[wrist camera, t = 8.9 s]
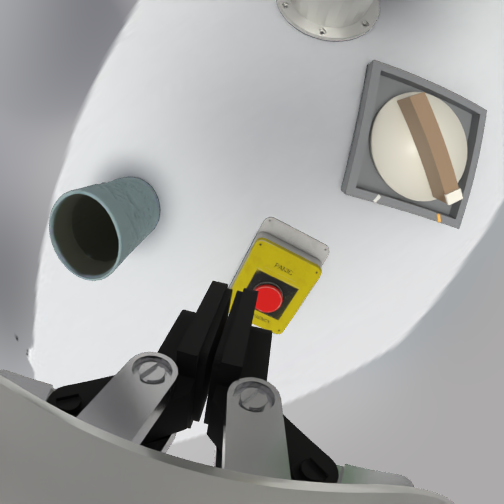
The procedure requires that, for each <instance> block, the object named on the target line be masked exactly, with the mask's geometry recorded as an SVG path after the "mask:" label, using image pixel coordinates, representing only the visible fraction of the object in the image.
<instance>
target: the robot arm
mask: <svg viewBox="0 0 504 504" xmlns="http://www.w3.org/2000/svg"><path fill="white" fill-rule="evenodd" d="M277 4H278V8H279V9H280V11H281V13H282V15H283V16H284V17H285V19H286V20H287V21H288V22H289V23H290V24H291V25H293V26H294V27H295V28H296V29H298V30H300V31H301V32H303V33H305V34H307V35H310V36H312V37H315V38H318V39H322V40H329V41H345V40H351V39H354V38H357V37H359V36H361V35H363V34H365V33H366V32H368V31H369V30H370V28H371V27H372V26H373V25H374V24H375V22H376V21H377V18H378V16H379V10H380V4H379V0H277ZM284 7H288V8H284ZM363 25H365V26H366V27H365V26H363ZM320 32H323V33H324V35H322V34H320ZM232 292H233V289H229V288H228V284H225V283H221V282H216V281H212V283H211V285H210V287H209V289H208V291H207V293H206V295H205V297H204V299H203V300H202V302H201V304H200V306H199V308H198V310H197V312H196V313H195V312H191V311H187V310H182V312H181V313H180V315H179V316H178V318H177V320H176V321H175V323H174V325H173V327H172V328H171V330H170V332H169V333H168V335H167V337H166V339H165V340H164V342H163V344H162V345H161V347H160V349H159V351H158V352H144V353H140V354H138V355H135V356H134V357H133V358H131V359H130V360H129V361H128V362H127V363H126V364H125V365H124V367H123V368H122V369H121V370H120V371H119V372H118V373H117V374H116V375H114V376H109V377H105V378H101V379H96V380H92V381H87V382H82V383H77V384H72V385H67V386H63V387H60V388H58V389H54V388H53V385H51V384H47V383H44V382H41V381H37V380H34V379H31V378H28V377H24V376H22V375H18V374H16V373H13V372H10V371H7V370H0V504H454V503H453V502H452V501H451V500H449V499H448V498H447V497H445V496H443V495H440V494H438V493H435V492H431V491H428V490H424V489H419V488H415V487H414V485H413V484H412V482H411V481H410V480H409V479H408V478H406V477H405V476H402V475H398V474H392V473H386V472H380V471H375V470H370V469H365V468H361V467H356V466H351V465H348V464H345V465H344V466H339V465H336V464H335V463H334V461H333V460H332V459H331V458H330V457H329V456H328V455H326V454H325V453H324V452H323V451H322V450H321V449H320V448H319V447H317V446H316V445H315V444H314V443H313V442H312V441H311V440H310V439H308V438H307V437H306V436H305V435H304V434H303V433H302V432H301V431H300V430H299V429H298V428H297V427H296V426H295V425H293V423H291V422H290V421H289V420H288V419H287V418H286V417H285V416H284V415H283V411H282V403H281V397H280V394H279V392H278V390H277V389H276V388H275V387H274V386H273V385H272V384H270V383H269V382H267V374H268V365H269V357H270V348H271V339H272V330H267V329H262V328H258V327H253V326H251V325H252V321H253V316H254V311H255V307H256V302H257V297H258V292H259V291H256V290H251V289H247V288H244V289H243V292H242V291H238V290H237V292H236V295H235V298H234V301H233V304H232V307H231V310H230V313H229V308H230V303H231V297H232ZM228 314H229V316H228ZM207 396H208V398H207ZM206 399H207V405H206V412H205V418H204V423H206V424H208V430H207V435H208V436H209V438H210V439H211V440H212V441H213V443H214V444H215V445H216V447H215V457H214V467H213V466H208V465H204V464H200V463H196V462H193V461H189V460H185V459H182V458H178V457H175V456H172V455H169V454H166V452H167V450H168V449H169V447H170V445H171V444H172V442H173V440H174V439H175V436H176V432H179V431H182V430H185V429H187V428H191V425H192V422H193V420H194V421H198V422H199V420H200V418H201V414H202V411H203V408H204V405H205V402H206Z"/></svg>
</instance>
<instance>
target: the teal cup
mask: <svg viewBox="0 0 504 504" xmlns="http://www.w3.org/2000/svg"><path fill="white" fill-rule="evenodd" d="M159 215H160V206H159V201H158V198H157V196H156V193H155V191H154V190H153V188H152V187H151V186H150V185H149V184H148V183H146V182H145V181H143V180H141V179H139V178H135V177H125V178H120V179H116V180H114V181H111V182H108V183H101V184H95V185H91V186H87V187H84V188H79V189H75V190H71V191H69V192H66V193H64V194H63V195H62V196H61V197H60V198H59V199H58V200H57V201H56V203H55V204H54V206H53V208H52V211H51V214H50V220H49V232H50V238H51V242H52V245H53V248H54V250H55V252H56V254H57V256H58V258H59V259H60V261H61V262H62V263H63V264H64V266H65V267H66V268H67V269H68V270H69V271H71V272H72V273H73V274H75V275H76V276H78V277H80V278H83V279H85V280H91V281H96V280H102V279H104V278H106V277H108V276H109V275H110V274H111V273H113V272H114V270H115V269H116V268H117V267H118V266H119V265H120V264H121V263H122V262H123V260H124V259H125V258H126V257H127V256H128V255H129V254H130V253H131V252H132V251H133V250H134V248H135V247H137V246H138V245H139V244H140V242H141V241H142V240H143V239H144V238H145V237H146V236H147V235H148V234H150V233H151V232H152V231H153V229H154V228H155V226H156V225H157V222H158V221H159Z"/></svg>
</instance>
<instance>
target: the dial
mask: <svg viewBox="0 0 504 504" xmlns="http://www.w3.org/2000/svg"><path fill="white" fill-rule="evenodd" d="M369 148H370V154H371V159H372V162H373V164H374V167H375V169H376V171H377V173H378V174H379V176H380V177H381V179H382V180H383V181H384V182H385V183H386V184H387V185H388V186H389V187H390V188H391V189H392V190H394V191H395V192H397V193H398V194H400V195H402V196H404V197H406V198H408V199H411V200H415V201H432V200H436V199H438V200H440V201H442V202H444V203H446V204H447V205H451V204H453V203H455V202H457V201H459V200H461V199H463V196H462V192H461V188H459V187H458V182H459V180H460V179H461V177H462V175H463V172H464V169H465V166H466V161H467V141H466V136H465V132H464V129H463V127H462V125H461V123H460V121H459V119H458V117H457V116H456V114H455V113H454V112H453V110H452V109H451V108H450V107H449V106H448V105H447V104H446V103H444V102H443V101H442V100H440V99H439V98H437V97H435V96H433V95H430V94H427V93H425V92H408V93H404V94H401V95H398V96H396V97H394V98H392V99H390V100H389V101H387V102H386V103H385V104H384V105H383V106H382V107H381V108H380V109H379V110H378V112H377V114H376V115H375V117H374V119H373V122H372V125H371V129H370V135H369Z"/></svg>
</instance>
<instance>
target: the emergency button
mask: <svg viewBox="0 0 504 504" xmlns="http://www.w3.org/2000/svg"><path fill="white" fill-rule="evenodd" d="M328 255H329V248H328V247H327V246H326V245H325V244H323V243H321V242H319V241H318V240H316V239H314V238H312V237H310V236H308V235H306V234H304V233H302V232H301V231H299V230H297V229H295V228H293V227H291V226H289V225H287V224H285V223H283V222H281V221H279V220H277V219H275V218H273V217H269V218H266V219H265V220H264V221H263V223H262V225H261V227H260V229H259V231H258V233H257V234H256V236H255V238H254V240H253V242H252V244H251V246H250V248H249V250H248V252H247V254H246V255H245V257H244V259H243V261H242V263H241V265H240V267H239V269H238V271H237V273H236V275H235V276H234V278H233V280H232V282H231V284H230V286H229V289H233V292H232V297H231V303H230V308H229V313H230V310H231V307H232V304H233V301H234V298H235V295H236V292H237V290H238V291H242V292H243V289H244V288H247V289H251V290H256V291H259V292H258V297H257V302H256V307H255V311H254V316H253V321H252V324H254V325H256V326H259V327H261V328H263V329H267V330H272V333H274V334H281V333H282V332H283V331H284V330H285V328H286V327H287V325H288V324H289V322H290V321H291V319H292V318H293V317H294V315H295V314H296V312H297V311H298V309H299V308H300V306H301V305H302V303H303V302H304V300H305V299H306V297H307V296H308V294H309V293H310V291H311V290H312V288H313V287H314V285H315V284H316V282H317V281H318V279H319V278H320V275H321V271H322V270H321V266H322V265H323V263H324V262H325V260H326V258H327V257H328Z"/></svg>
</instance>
